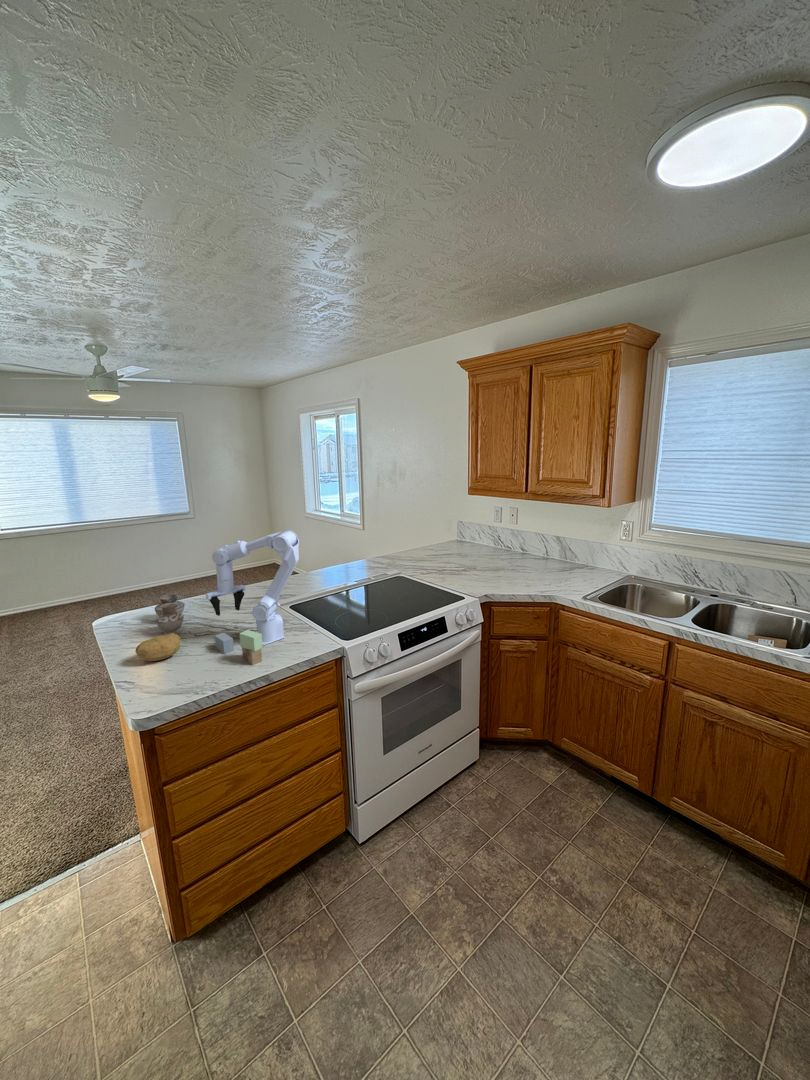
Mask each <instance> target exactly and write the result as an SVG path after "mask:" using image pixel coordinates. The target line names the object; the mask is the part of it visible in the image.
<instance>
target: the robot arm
mask: <svg viewBox="0 0 810 1080" xmlns="http://www.w3.org/2000/svg"><path fill="white" fill-rule="evenodd" d="M299 546H300V540H299V538H298V535H297V533H295V532H294V531H293V530H290V529H288V530H284V531H278V532H274V533H271V534H268V535H265V536H263V537H260V538H257V539H254V540H251V541H248V542H247V541H245V540H240V539H239V540H236V541H235V542H234V543H233V544H226V545H224V546H223V547H220V548H218V549H215V551H213V553H212V554H211V559H212V561H213V563H215V570H216V582H217V583H216V585H217V589H215V590H212V591H210V592H207V593H205V599H206V600H208V601H209V602H210V603H211V605H212V607H213V609H214V612H215V615H216V616H217V617H220V616H221V609H220V607H221V599H219V597H223V596H226V595H227V596H228V595H230V594H232V595H233V599H234V609H235V611H236V610H237V611H240V610H241V609H240V607H241V604H242V600H243V598H244V597H245V591H246V585H244V584H241V585H235V584H234V583H235V582H234V570H233V561H235V560H239V559H241V558H244V557H247V556H249V555H250V553H251V551H254V550H258V549H261V548H265V547H268V548H269V549H274V550H275V552H276V553H277V554H278V555H279V556H280V557H281V560H282V561H281V564H280V566H279V568H278V569H277V572H276V573H275V575H274V577H273V579H272V581H271V582H270V585H269V587H268V588H267V591H266V592H265V594H264V595H263V597H262V598H261V599H260V601H259V603H258V604H257V605H255V606H254V607H253V608H252V611H251V614H252V617H253V618H254V619H255V623H256V625H255V626H256V633H260V634H262V645H263V646H265V645H269V644H271V643H274V642H277V641H281V640H282V639H285V638H286V636H285V635H284V633H285V632H284V620H283V617H282V615H280V614H278V613H276V611H277V610H278V607H279V606H278V605H279V604H278V603H279V601H280V596H281V594H282V593H283V591H284V589H285V587H286V586H287V583H288V582H289V579H290V578H291V575H292V574H293V572H294V571H295V570H294V569H296V567H297V565H298V563H299V561H300V553H299V552H300V551H299V548H300V547H299Z"/></svg>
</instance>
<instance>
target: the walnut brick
mask: <svg viewBox="0 0 810 1080" xmlns="http://www.w3.org/2000/svg"><path fill="white" fill-rule="evenodd" d="M241 652H242V653H241V654H242V659H243V660H244V661H246V662H248V663H249V664H250V665H252V666H254V665H258V664H260V663H263V658H262V657H263V656H262V655H263V654H262V648H261V649H259V650H257V651H252V650H249V649H246V648H243V647H241Z"/></svg>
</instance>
